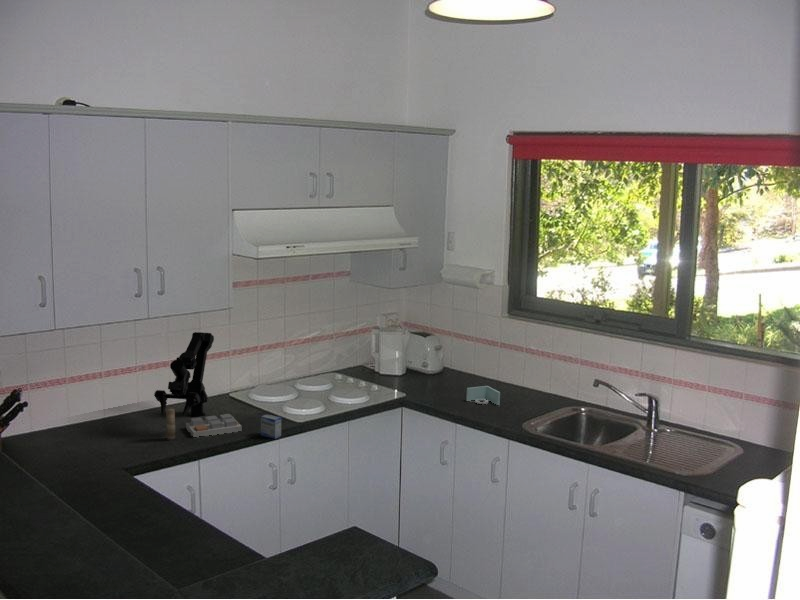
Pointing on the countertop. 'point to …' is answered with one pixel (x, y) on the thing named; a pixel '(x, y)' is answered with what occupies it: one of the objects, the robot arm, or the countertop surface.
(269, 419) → the medicine box
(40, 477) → the countertop surface
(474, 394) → the l-shaped corner panel
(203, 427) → the terracotta key
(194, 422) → the keypad
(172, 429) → the tan banded cylinder
